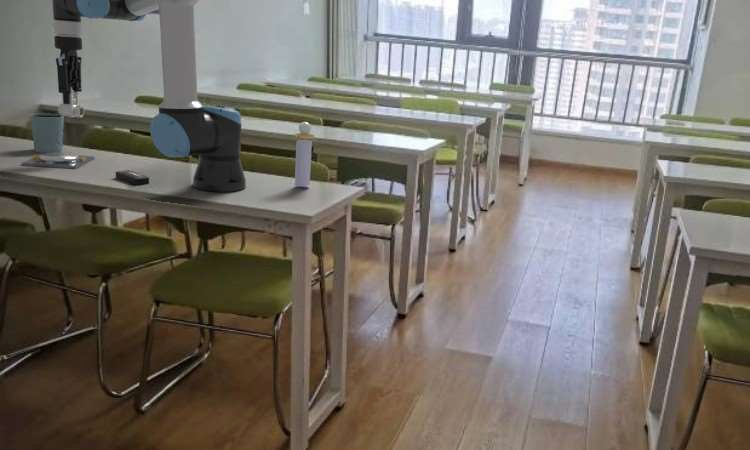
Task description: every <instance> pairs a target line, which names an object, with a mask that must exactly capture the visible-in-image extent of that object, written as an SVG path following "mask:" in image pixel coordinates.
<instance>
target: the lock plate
mask: <svg viewBox="0 0 750 450" xmlns="http://www.w3.org/2000/svg"><path fill="white" fill-rule="evenodd" d="M93 160H95V156H91V155H78V154H76V153H72V152H71V151H64V152H62V151H61V152H56V153H41V154H37V153H35V154H33V155H32V158H29V159H28V160H25V161H22V162H21V166H23V167H24V166H27V167H40V168H41V167H43V168H56V169H57V168H58V169H59V168H60V169H71V170H73V169H75V170H77V169H78V168H80V167H82V166H85V165H86V164H88V163H90V162H92V161H93Z"/></svg>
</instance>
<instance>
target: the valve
mask: <svg viewBox="0 0 750 450" xmlns="http://www.w3.org/2000/svg"><path fill="white" fill-rule="evenodd" d="M78 82H79V83H81V84H82V77H81V78H71V93H72V95H74V90H72V87H74V86H76V85H77V83H78ZM74 83H75V84H74ZM75 102H76V99H74V97H73V115H64V114H63V102H62V103H59V105H58V108H57V112H58V114H59V115H61V116H64V117H68V118H83V117H84V115H85V108H84V106H83V105H80V104H79V105H75Z"/></svg>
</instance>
